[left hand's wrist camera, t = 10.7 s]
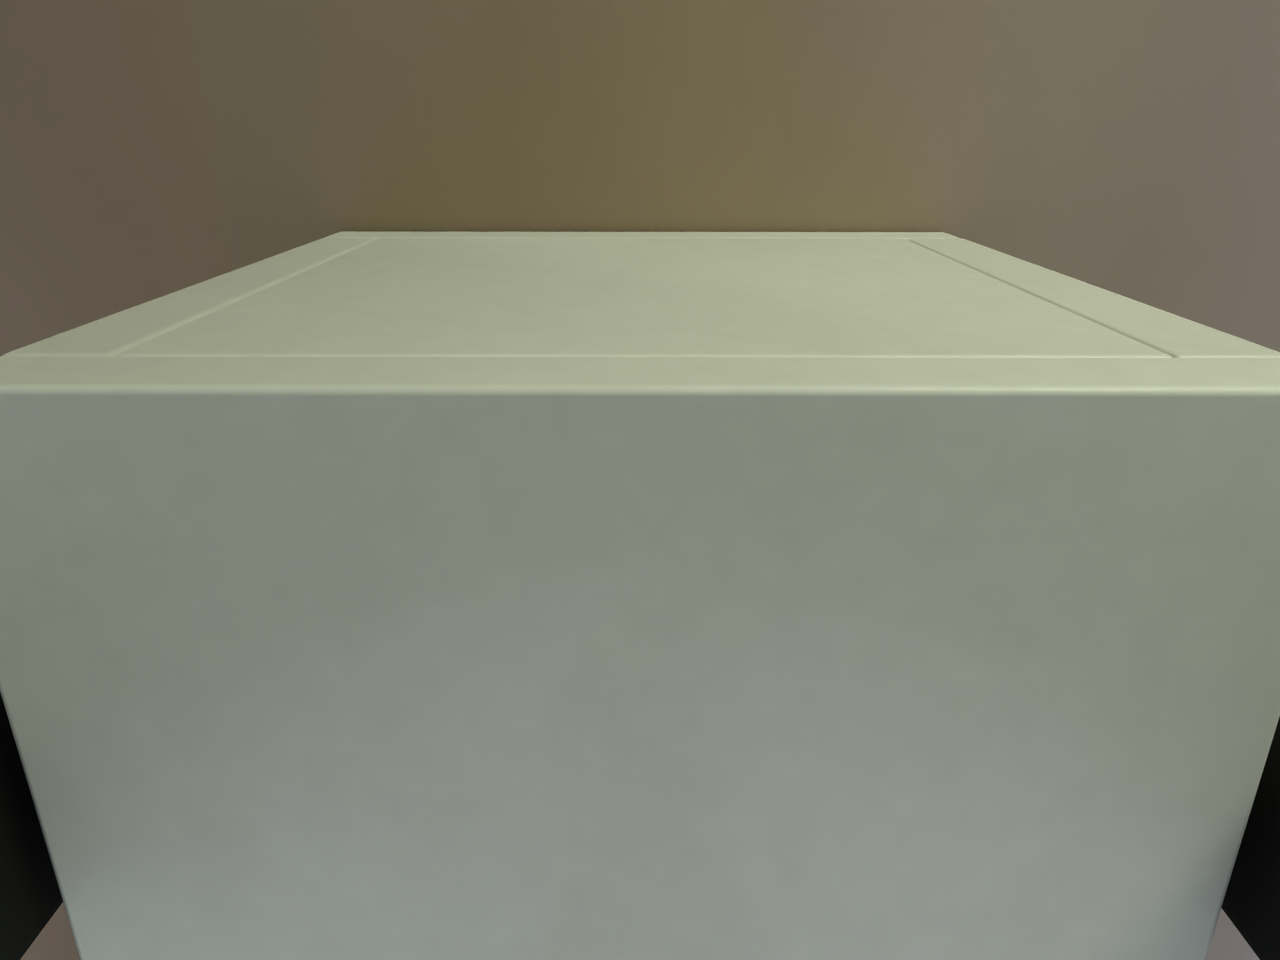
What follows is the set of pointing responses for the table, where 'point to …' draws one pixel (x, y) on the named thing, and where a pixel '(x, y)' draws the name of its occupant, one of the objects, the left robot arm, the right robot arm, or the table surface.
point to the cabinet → (641, 604)
